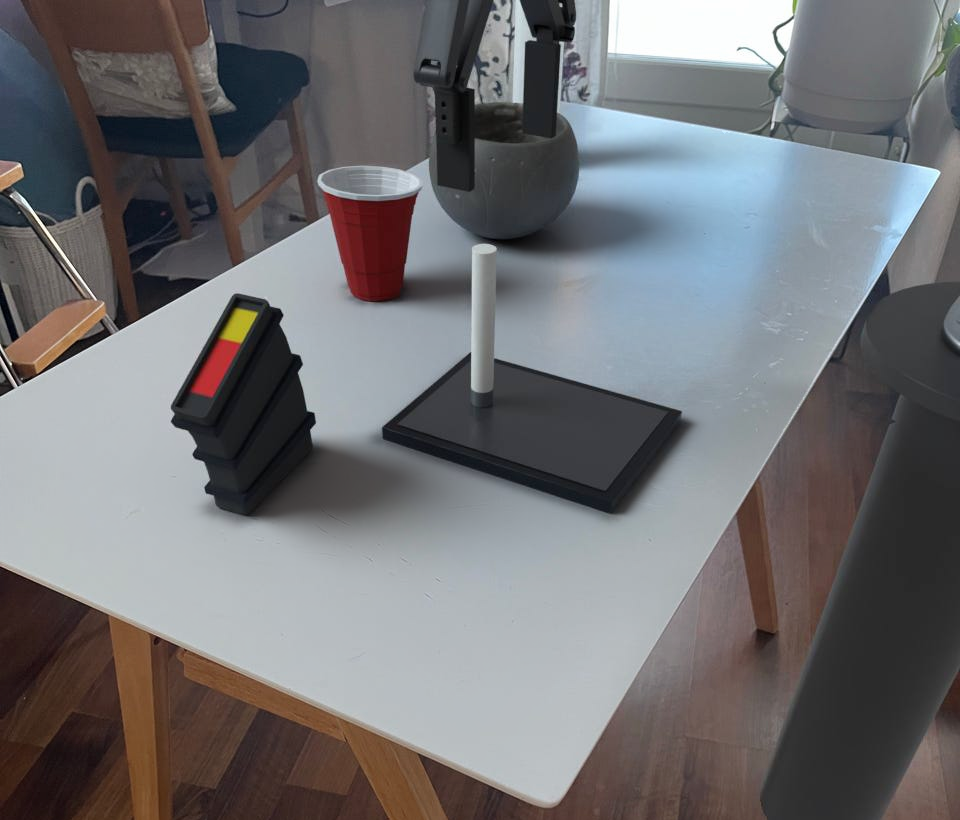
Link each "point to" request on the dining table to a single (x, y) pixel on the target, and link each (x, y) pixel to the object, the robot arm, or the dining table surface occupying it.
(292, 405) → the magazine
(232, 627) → the dining table surface
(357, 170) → the plastic cup
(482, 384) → the stylus
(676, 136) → the dining table surface
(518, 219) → the bowl
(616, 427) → the tablet
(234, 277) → the dining table surface
